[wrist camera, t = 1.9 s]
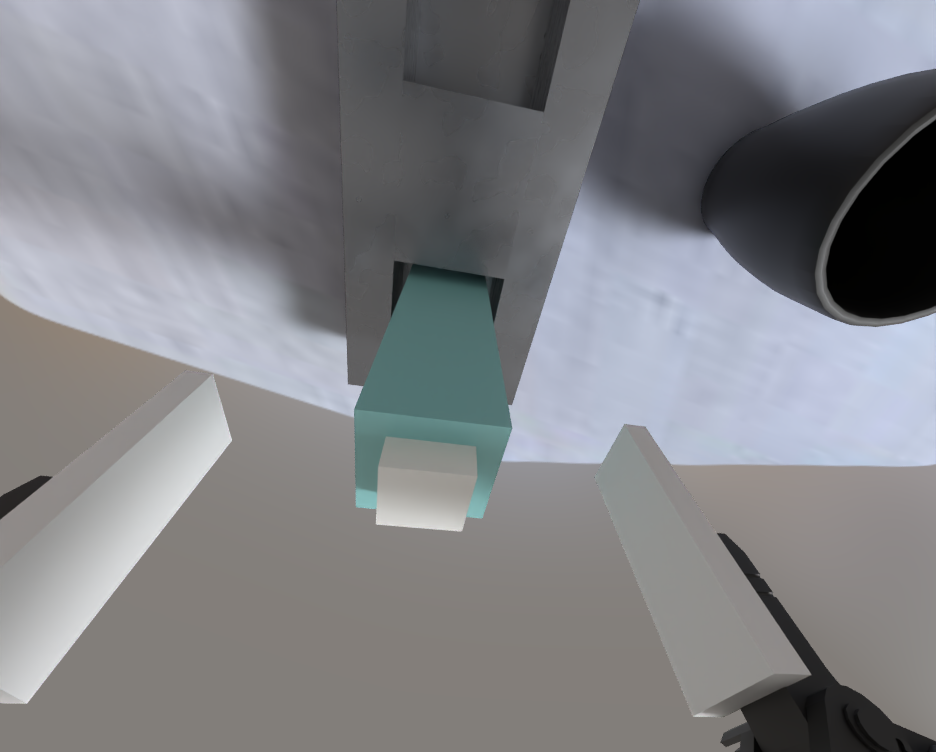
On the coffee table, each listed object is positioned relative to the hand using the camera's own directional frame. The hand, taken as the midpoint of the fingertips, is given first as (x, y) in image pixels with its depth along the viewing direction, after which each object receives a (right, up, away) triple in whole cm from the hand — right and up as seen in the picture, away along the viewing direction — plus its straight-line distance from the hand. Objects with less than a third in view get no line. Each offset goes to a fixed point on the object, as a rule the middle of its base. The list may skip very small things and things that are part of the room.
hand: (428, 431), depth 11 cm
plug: (0, +7, +10) cm, 12 cm away
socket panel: (+1, +12, +7) cm, 14 cm away
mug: (+19, +13, +8) cm, 24 cm away
